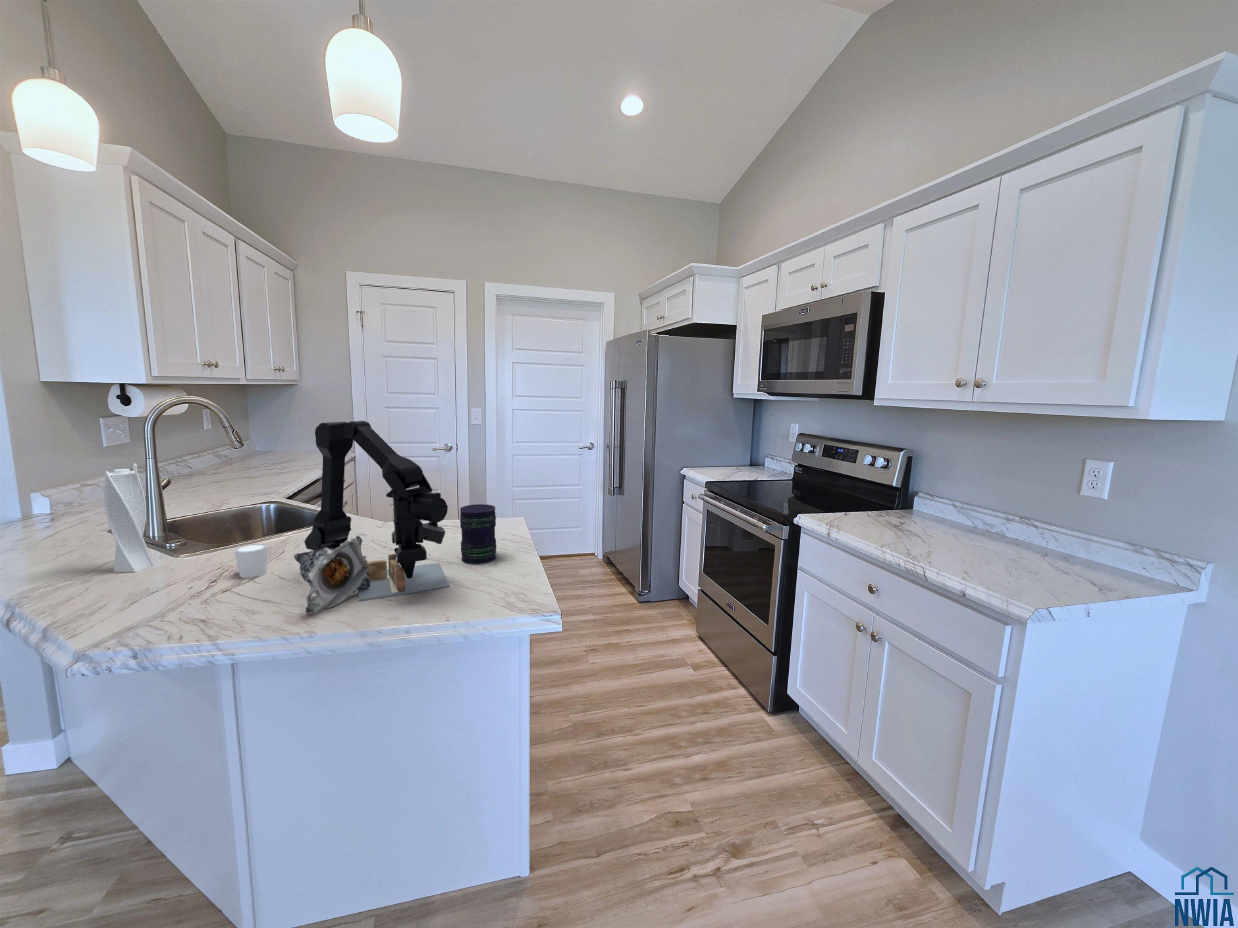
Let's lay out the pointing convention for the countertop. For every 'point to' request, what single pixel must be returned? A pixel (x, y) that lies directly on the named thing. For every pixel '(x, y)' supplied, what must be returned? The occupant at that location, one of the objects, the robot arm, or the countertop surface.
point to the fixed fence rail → (377, 569)
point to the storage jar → (478, 533)
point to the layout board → (406, 583)
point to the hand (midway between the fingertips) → (409, 578)
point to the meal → (333, 573)
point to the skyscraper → (127, 519)
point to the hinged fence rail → (396, 572)
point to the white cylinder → (251, 560)
